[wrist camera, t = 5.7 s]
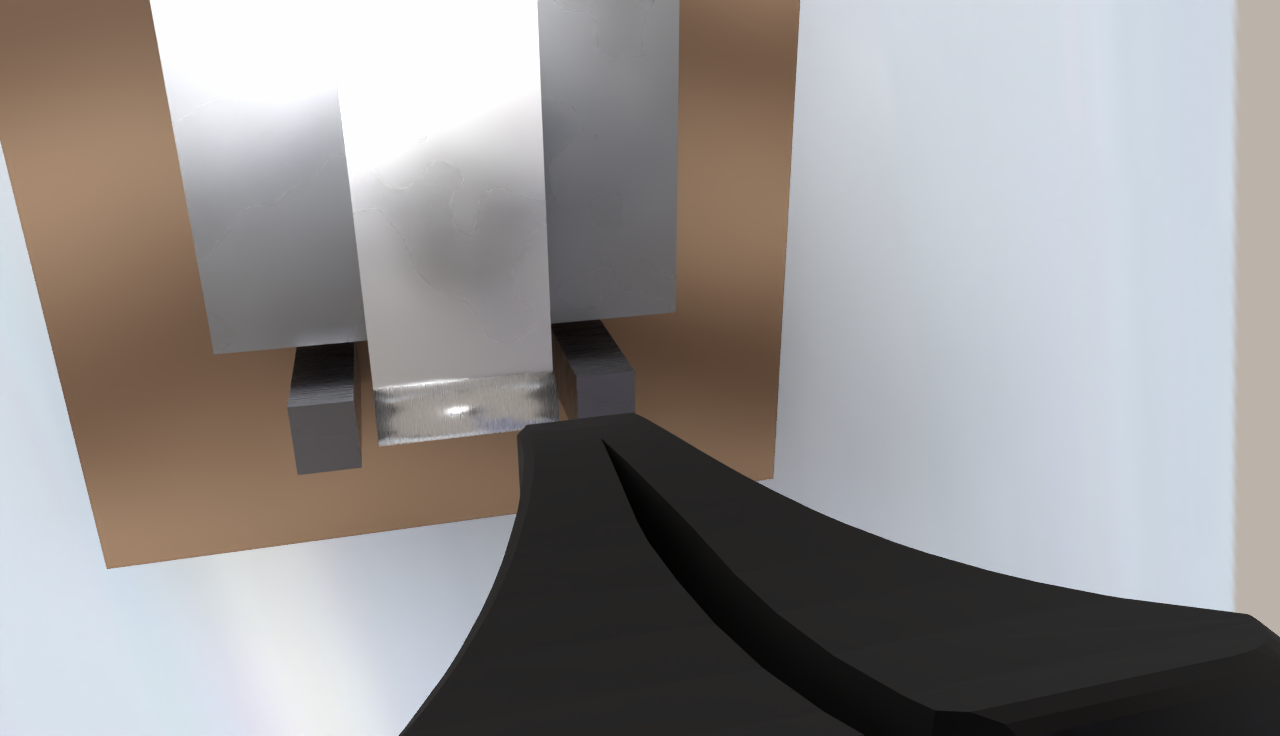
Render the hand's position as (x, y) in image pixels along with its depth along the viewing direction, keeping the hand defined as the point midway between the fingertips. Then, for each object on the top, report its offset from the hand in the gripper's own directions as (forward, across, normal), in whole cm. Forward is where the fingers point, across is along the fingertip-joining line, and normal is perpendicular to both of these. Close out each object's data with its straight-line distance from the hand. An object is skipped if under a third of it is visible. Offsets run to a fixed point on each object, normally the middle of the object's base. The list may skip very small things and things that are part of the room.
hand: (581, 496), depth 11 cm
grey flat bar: (+7, +1, -5) cm, 8 cm away
